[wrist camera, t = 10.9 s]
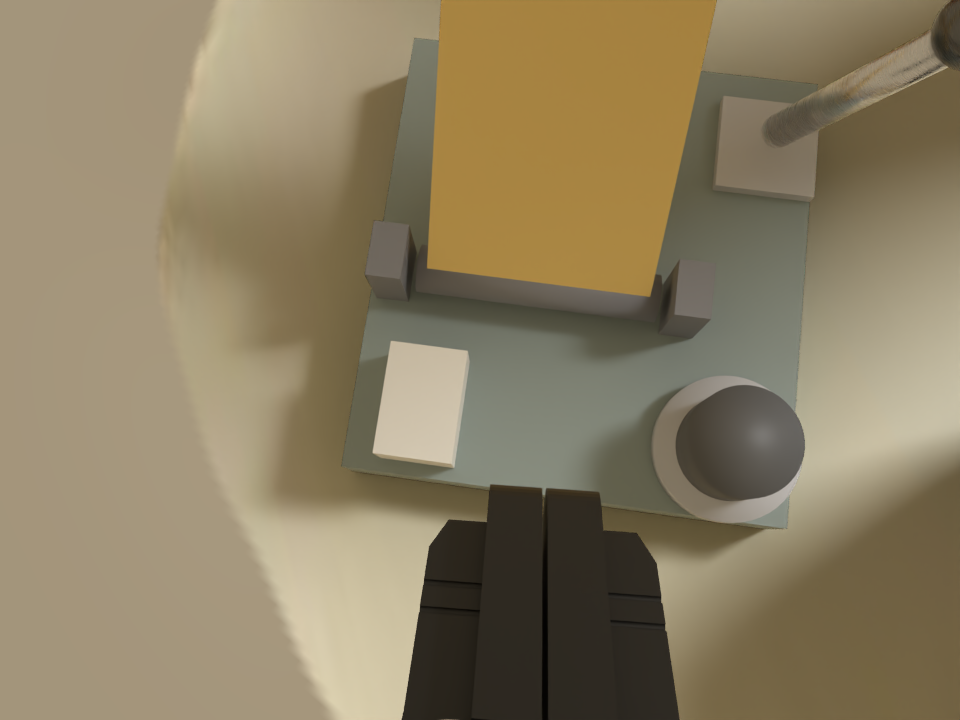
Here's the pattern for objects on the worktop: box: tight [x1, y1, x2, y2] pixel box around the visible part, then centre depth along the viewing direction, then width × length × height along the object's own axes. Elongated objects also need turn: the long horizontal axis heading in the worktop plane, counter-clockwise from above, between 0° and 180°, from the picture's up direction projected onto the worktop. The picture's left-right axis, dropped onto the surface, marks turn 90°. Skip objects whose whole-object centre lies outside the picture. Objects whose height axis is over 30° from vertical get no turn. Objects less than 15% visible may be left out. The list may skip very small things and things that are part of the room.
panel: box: [341, 38, 819, 529], centre depth 26 cm, size 14×13×4 cm
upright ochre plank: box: [415, 0, 717, 323], centre depth 21 cm, size 1×7×15 cm
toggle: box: [761, 0, 960, 148], centre depth 22 cm, size 2×2×8 cm
